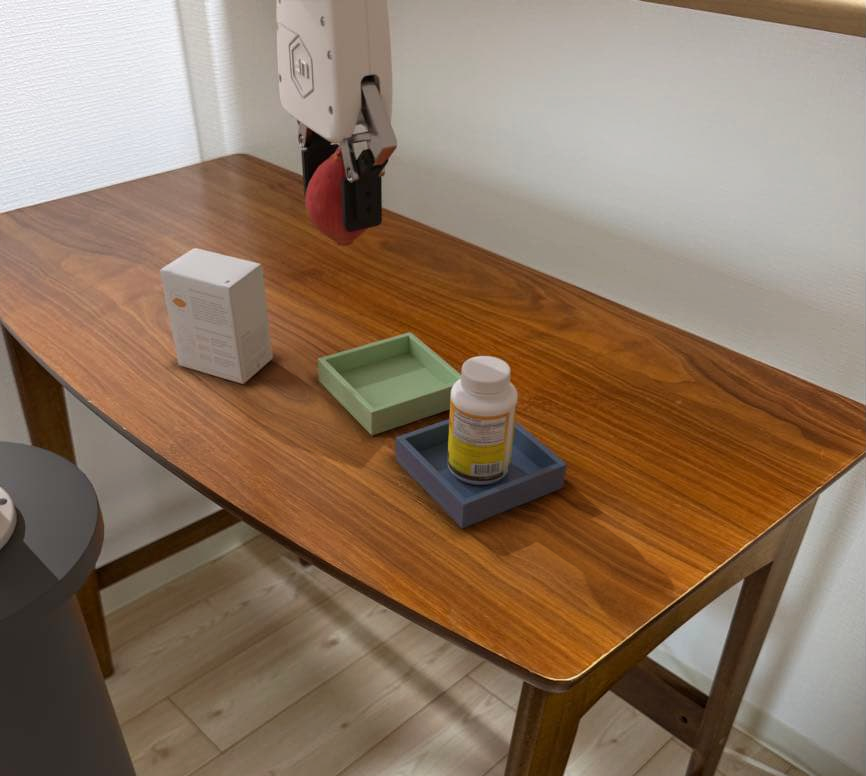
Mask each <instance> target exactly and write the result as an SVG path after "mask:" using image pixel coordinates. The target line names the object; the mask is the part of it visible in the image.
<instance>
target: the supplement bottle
mask: <svg viewBox="0 0 866 776" xmlns="http://www.w3.org/2000/svg"><path fill="white" fill-rule="evenodd" d="M460 374H461V376H460V379H459V380H458V381H457V382H456V383H455V384H454V385H453V387H452V390H451V396H450V409H449V418H448V419H449V439H448V467H449V470H450V471H451V473H452V474H453V475H454V476H455V477H456V478H458V479H459V480H461V481H463V482H466V483H469V484H474V485H487V484H492V483H495V482H497V481H499V480H501V479H502V478H504V477H505V476H506V474H507V473H508V471H509V468H510V462H511V453H512V444H513V436H514V427H515V421H516V417H517V410H518V409H517V408H518V400H519V399H518V397H519V396H518V395H519V394H518V390H517V388H516V387H515V385H514V384H513V383H512V382H511V367H510V365H509V363H507V362H506V361H504V360H503V359H501V358H498V357H494V356H491V355H478V356H474V357H471V358H468V359H467V360H465V361H464V362H463V364H462V366H461V373H460Z"/></svg>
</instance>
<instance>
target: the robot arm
mask: <svg viewBox="0 0 866 776" xmlns="http://www.w3.org/2000/svg"><path fill="white" fill-rule="evenodd" d="M275 15H276V52H277V73H278V75H277V77H278V89H279V90H278V92H279V101H280V105H281V106H282V108H283V109H284V111H285V112H286V113H287V114H288V115H289V116H290V117H292V118H294V119H295V120H296V122H297V124H298V132H297V141H298V144H299V147H300V148H301V150H300V154H301V167H302V168H301V169H302V170H301V171H302V184H303V195H304V197H305V196H306V191H307V187H308V184H309V181H310V180H311V178H312V176H313V174H314V173H315V171H316V170H317V168H318V167H319V166H320V165H321V164H322V163H323V162H324V161H325V160H327V159H328V158H329V157H331V155H332V154H334V153H335V151H336V149H337V148H338V147H341V152H342V157H343V162H344V167H345V172H346V177H347V178H343V179H341V190H342V214H343V228H344V229H345V230H347V231H348V232H353V231H357V230H361V229H366V228H368V229H369V228H375V227H378V226H380V225H381V224H382V221H383V202H382V201H383V197H382V196H383V193H382V192H383V188H382V178H383V177H384V176H385V174H386V166H387V165H388V163H389V159H390V158H391V156H392V155H393V153H395V151H396V150H397V148H398V140H397V137H396V134H395V131H394V129H393V127H392V126H393V125H392V120H393V119H392V117H393V99H394V98H393V97H394V95H393V64H392V63H393V61H392V45H391V31H390V30H391V29H390V19H389V9H388V1H387V0H276V14H275ZM359 125H362V126H363V127H365V130H366V131H364V132H358V133H354V132H355V129H356V126H359ZM363 142H364V143H365V142H366V147H367V149H363V150H362V151H361V152H360V154H359V155H358V157H357V155H356V151H355V150H356V149H355V146H354V144H358V143H363ZM16 523H17V513H16V510H15V507H14V504H13V501H12V499H11V498H10V496H9V494H8V493H7V492H6V491H5V490H4V489H3V488H1V487H0V550H1V549H2V547H3V546H4V545H5V544H6V543H7V542H8V540H9V539H10V537H11V535H12V534H13V532H14V529H15V526H16Z"/></svg>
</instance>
